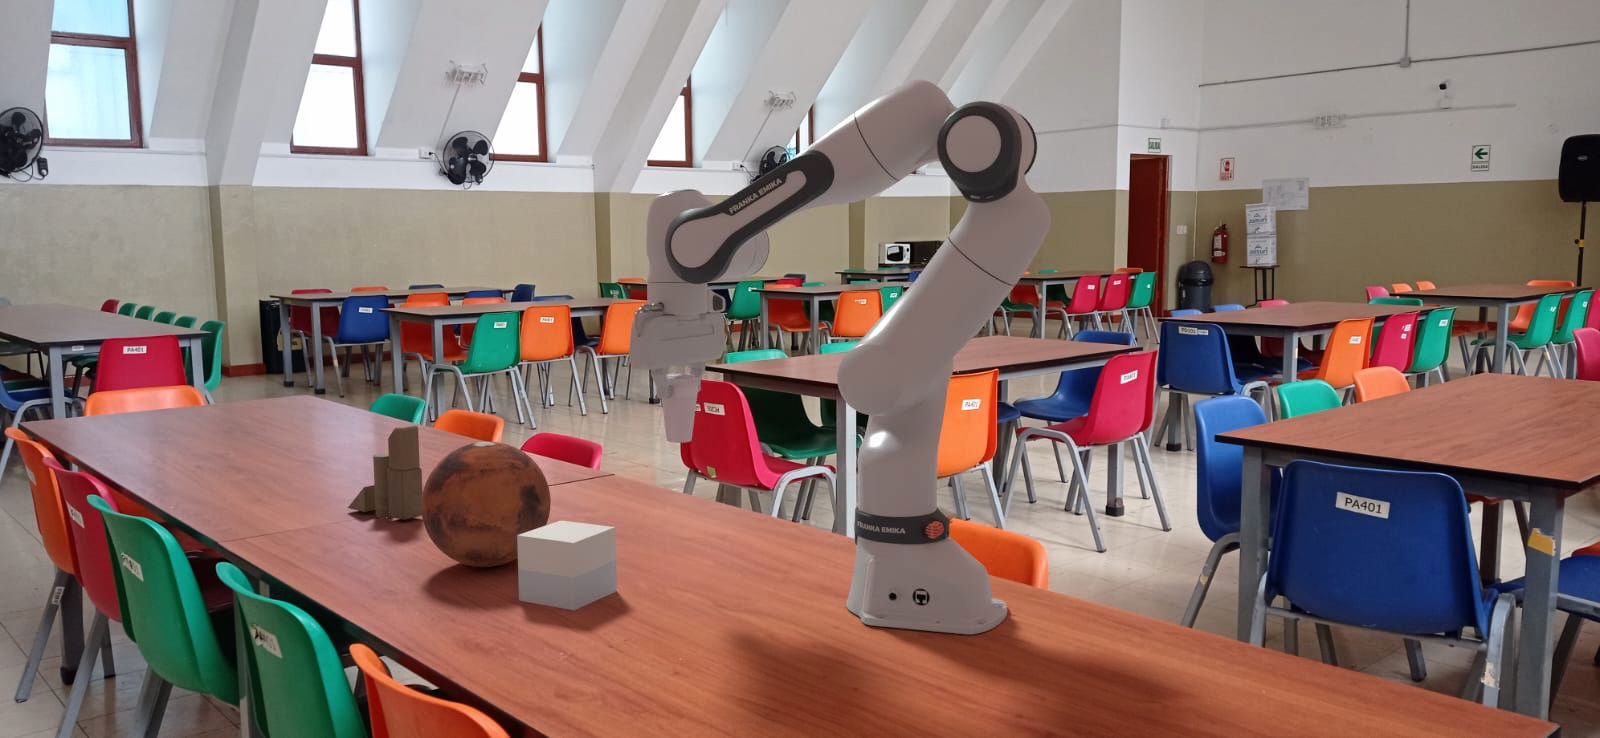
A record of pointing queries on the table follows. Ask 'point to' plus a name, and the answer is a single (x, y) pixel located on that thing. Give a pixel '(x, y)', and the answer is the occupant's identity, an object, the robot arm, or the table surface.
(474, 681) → the table surface
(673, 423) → the smoothie
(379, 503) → the wooden block set
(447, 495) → the planet model
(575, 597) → the tower base block
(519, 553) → the tower top block
